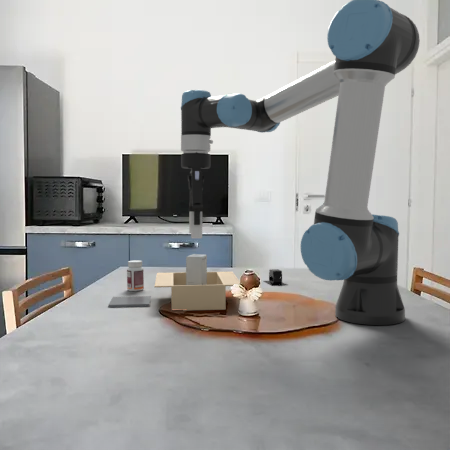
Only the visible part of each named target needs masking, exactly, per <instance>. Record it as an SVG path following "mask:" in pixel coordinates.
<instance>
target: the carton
mask: <svg viewBox="0 0 450 450" xmlns="http://www.w3.org/2000/svg"><path fill="white" fill-rule="evenodd" d="M240 282H241V281H240V280H239V278H238V277H237V275H235V273H234V271H207V285H186V271H185V272H182V271H180V272H157V273H156V276H155V283H154V288H170V289H171V293H170V294H171V296H170V297H171V300H170V301H171V310H172V309H187V310H186V311H215V310H216V311H219V310H226V309H227V308H226V304H227V303H226V302H227V300H226V292H227V290H226V289H227V288H226V287H234V286H233V285H234V284H239V283H240Z"/></svg>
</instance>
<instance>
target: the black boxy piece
mask: <svg viewBox="0 0 450 450" xmlns="http://www.w3.org/2000/svg"><path fill="white" fill-rule="evenodd" d="M262 282H264V283H266V284H267V285H269V286H271V287H282V286H283V287H284V286H289V284H287V283H285V282H283V271H282V270H280V269H269V272H268V280H262Z"/></svg>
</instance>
